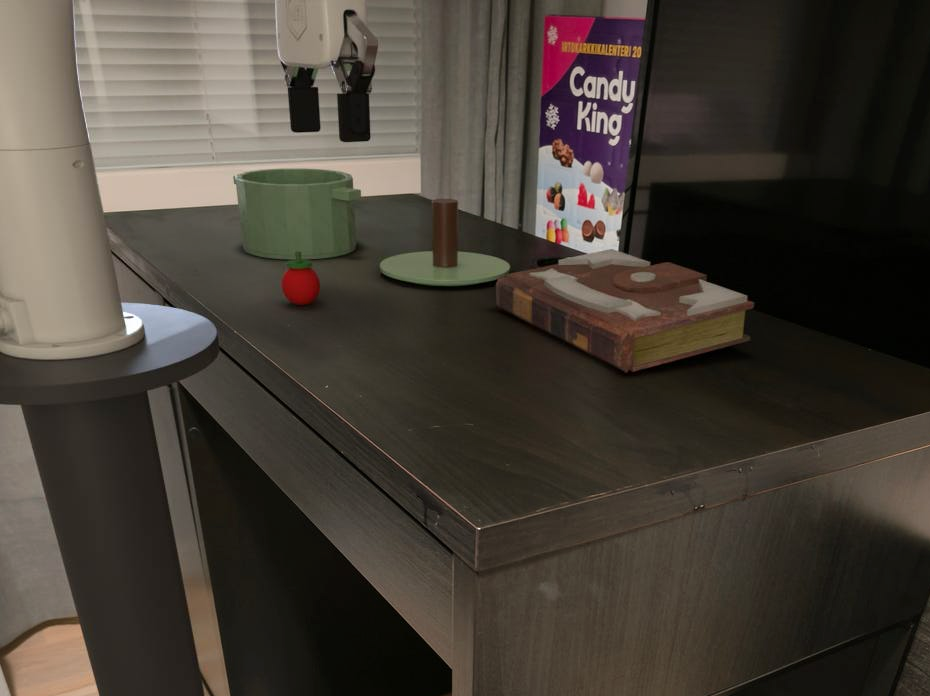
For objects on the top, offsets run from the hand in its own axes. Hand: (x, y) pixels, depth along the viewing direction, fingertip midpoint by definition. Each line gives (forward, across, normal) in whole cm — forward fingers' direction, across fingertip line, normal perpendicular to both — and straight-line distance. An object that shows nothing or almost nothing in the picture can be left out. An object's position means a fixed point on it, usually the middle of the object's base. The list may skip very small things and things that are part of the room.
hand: (329, 136), depth 92 cm
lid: (+15, -2, +16) cm, 22 cm away
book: (+16, +27, +16) cm, 35 cm away
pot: (+15, -25, +9) cm, 31 cm away
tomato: (+16, +1, -5) cm, 16 cm away
